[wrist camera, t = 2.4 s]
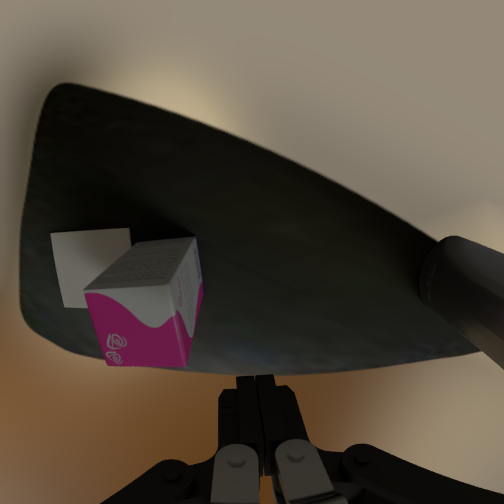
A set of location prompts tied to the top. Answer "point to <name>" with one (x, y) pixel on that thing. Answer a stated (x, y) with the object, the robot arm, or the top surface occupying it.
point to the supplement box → (148, 303)
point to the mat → (85, 259)
